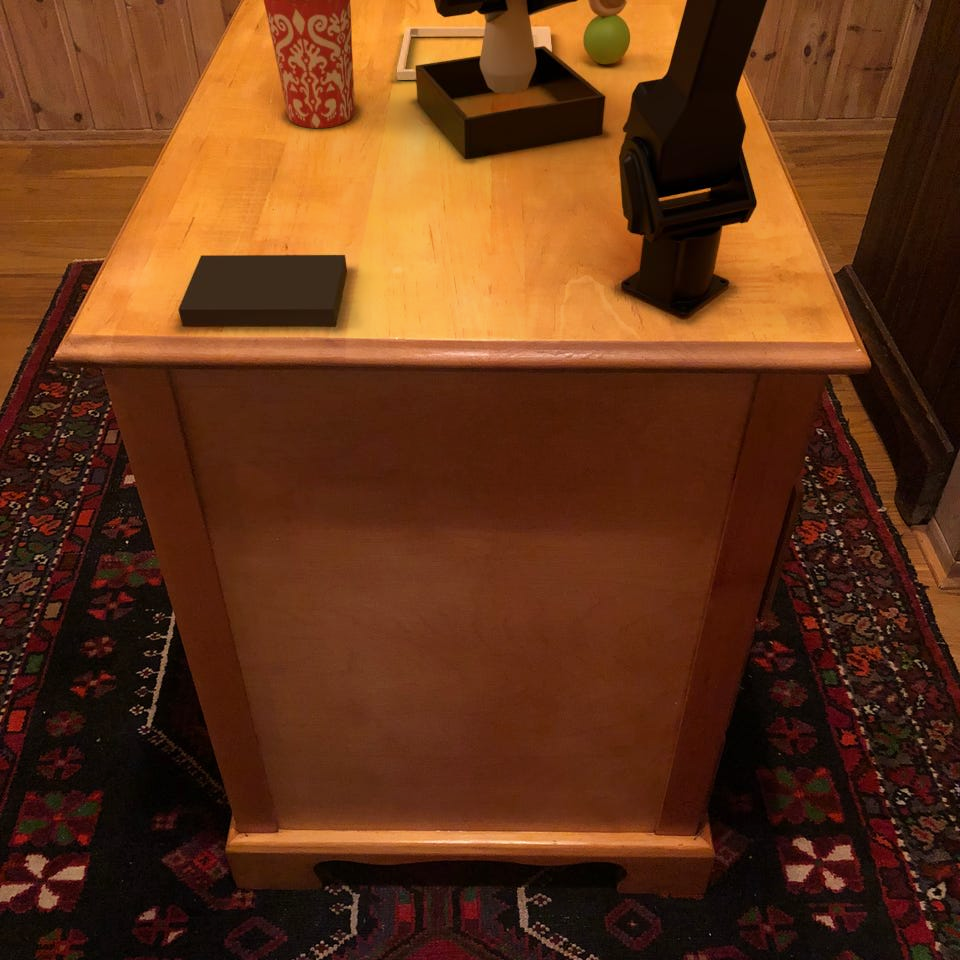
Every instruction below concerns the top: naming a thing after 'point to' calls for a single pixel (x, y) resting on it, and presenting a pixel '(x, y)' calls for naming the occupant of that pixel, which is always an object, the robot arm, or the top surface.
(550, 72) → the black open square box
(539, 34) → the photo frame
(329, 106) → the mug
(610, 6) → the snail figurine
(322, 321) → the mat
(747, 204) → the robot arm
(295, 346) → the top surface
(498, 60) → the salt shaker
